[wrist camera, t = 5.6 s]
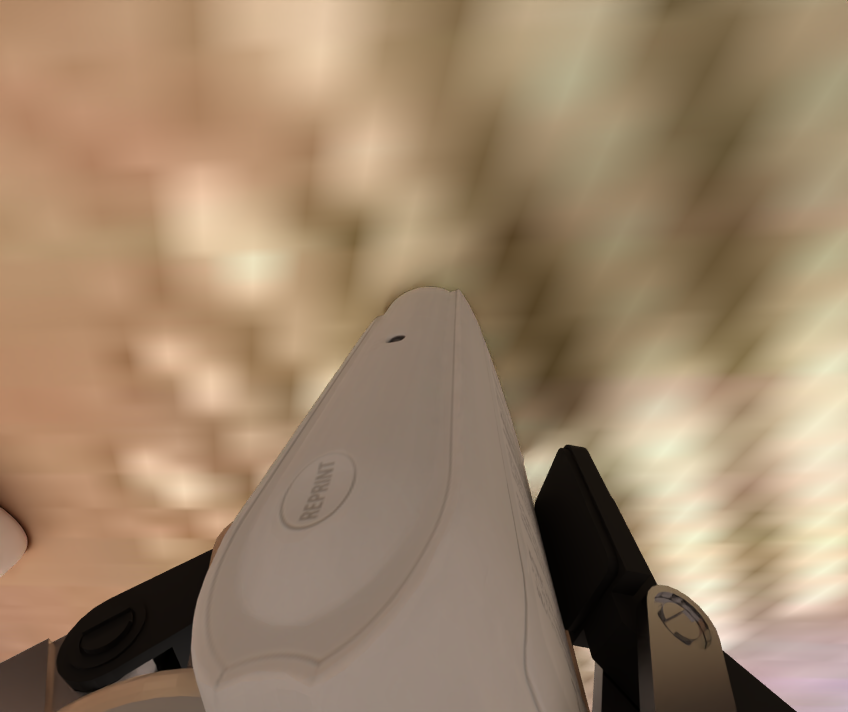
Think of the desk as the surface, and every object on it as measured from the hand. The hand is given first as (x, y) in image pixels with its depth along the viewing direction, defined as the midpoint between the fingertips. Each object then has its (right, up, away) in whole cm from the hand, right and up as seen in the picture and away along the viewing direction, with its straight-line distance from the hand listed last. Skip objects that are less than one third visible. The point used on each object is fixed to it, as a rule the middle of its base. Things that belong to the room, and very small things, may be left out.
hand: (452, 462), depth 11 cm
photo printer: (0, +2, +4) cm, 4 cm away
